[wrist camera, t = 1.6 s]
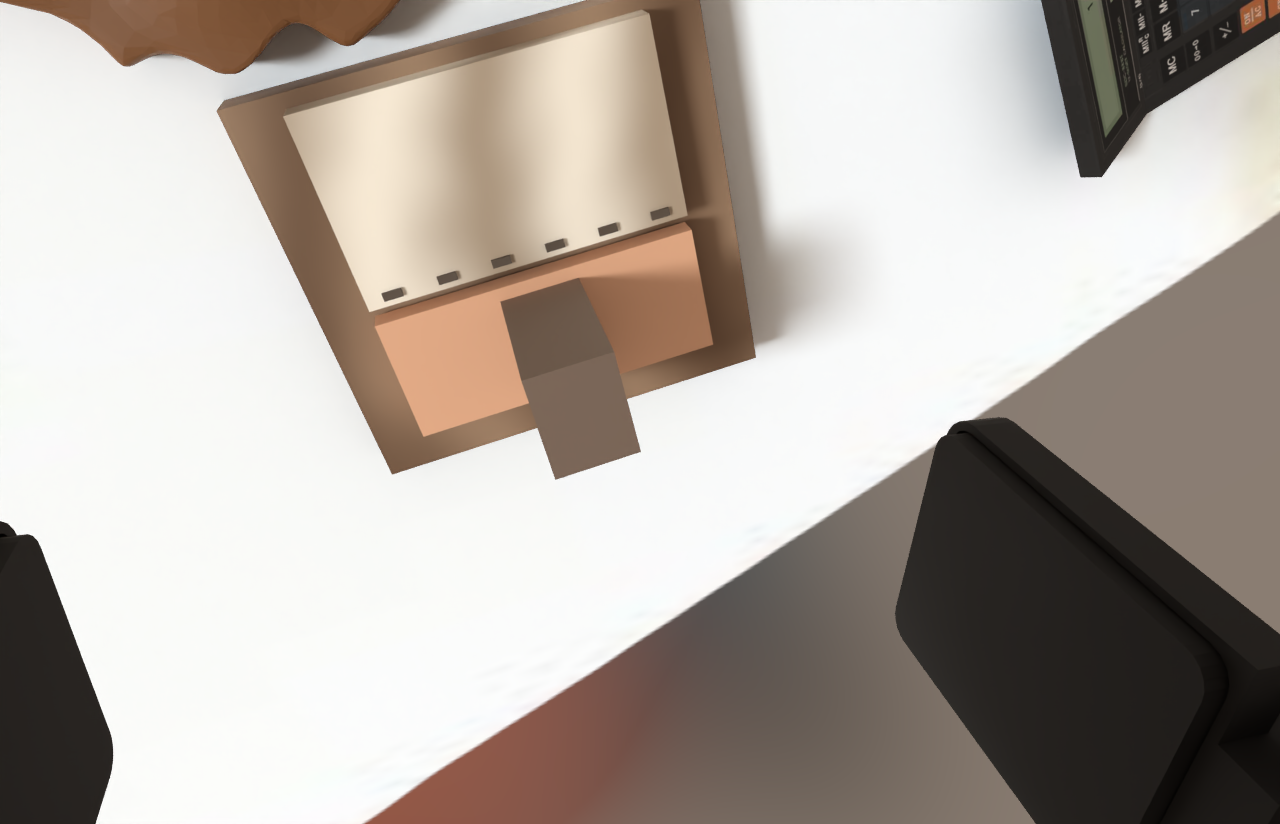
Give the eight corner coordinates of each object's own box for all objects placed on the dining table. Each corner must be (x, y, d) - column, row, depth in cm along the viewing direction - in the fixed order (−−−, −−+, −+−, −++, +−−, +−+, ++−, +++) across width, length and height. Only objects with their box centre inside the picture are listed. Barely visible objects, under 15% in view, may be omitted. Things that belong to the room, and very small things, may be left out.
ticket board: (683, -27, 30) (706, -20, 28) (743, 341, 38) (765, 369, 36) (223, 100, 28) (210, 119, 26) (392, 454, 37) (392, 490, 35)
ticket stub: (684, 221, 33) (747, 294, 27) (706, 334, 35) (767, 422, 30) (375, 316, 32) (372, 413, 26) (422, 424, 34) (429, 533, 29)
